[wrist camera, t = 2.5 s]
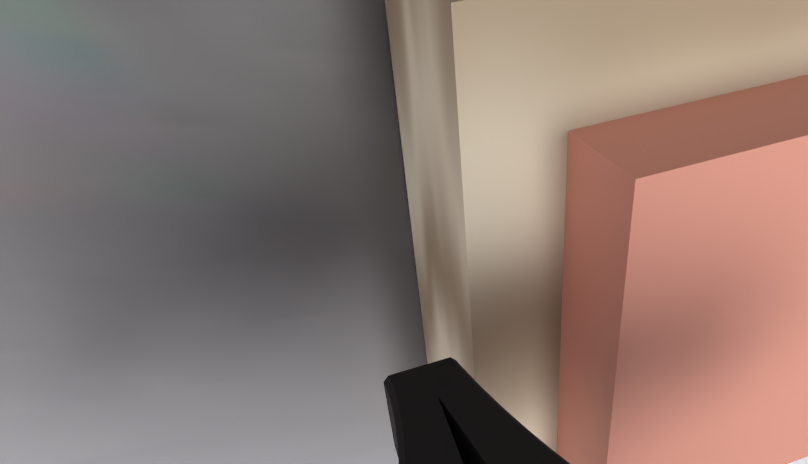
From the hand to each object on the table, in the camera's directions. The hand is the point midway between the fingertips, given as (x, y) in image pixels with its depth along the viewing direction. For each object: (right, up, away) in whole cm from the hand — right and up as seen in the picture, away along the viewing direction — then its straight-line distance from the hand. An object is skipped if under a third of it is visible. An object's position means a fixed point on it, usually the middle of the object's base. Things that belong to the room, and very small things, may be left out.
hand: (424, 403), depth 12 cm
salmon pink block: (+6, +2, +2) cm, 6 cm away
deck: (+4, +4, +5) cm, 8 cm away
